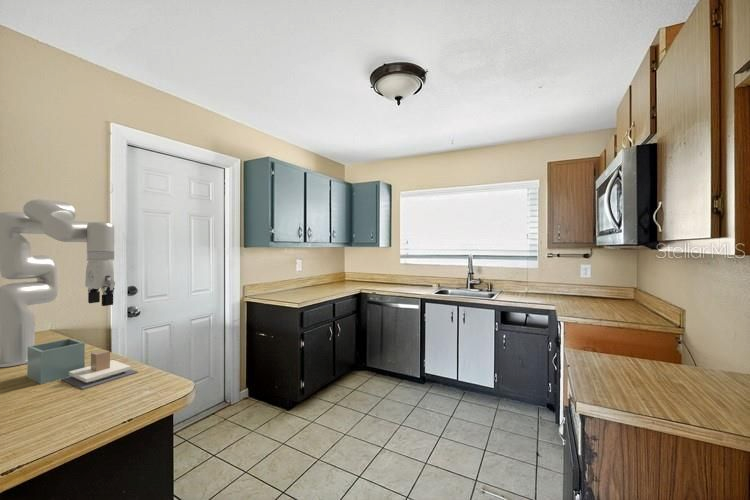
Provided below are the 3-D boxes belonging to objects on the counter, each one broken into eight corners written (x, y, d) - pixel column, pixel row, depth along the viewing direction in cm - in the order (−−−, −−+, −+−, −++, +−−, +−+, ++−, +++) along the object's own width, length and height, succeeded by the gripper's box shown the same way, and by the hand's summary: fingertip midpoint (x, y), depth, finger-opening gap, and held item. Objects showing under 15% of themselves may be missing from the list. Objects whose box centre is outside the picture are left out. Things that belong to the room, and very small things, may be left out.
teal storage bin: (27, 377, 112) (27, 346, 112) (70, 366, 123) (70, 338, 123) (41, 384, 107) (40, 351, 107) (84, 372, 118) (84, 342, 117)
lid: (68, 377, 112) (68, 354, 112) (112, 365, 123) (112, 344, 123) (86, 385, 106) (86, 361, 106) (130, 372, 117) (130, 350, 117)
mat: (61, 379, 111) (61, 378, 111) (115, 364, 125) (115, 363, 125) (83, 389, 104) (83, 388, 104) (137, 372, 118) (137, 371, 118)
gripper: (76, 256, 114) (76, 303, 115) (99, 257, 107) (99, 308, 107) (101, 255, 121) (101, 300, 121) (125, 257, 113) (125, 304, 113)
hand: (100, 304), depth 114 cm, fingers open, 9 cm apart
